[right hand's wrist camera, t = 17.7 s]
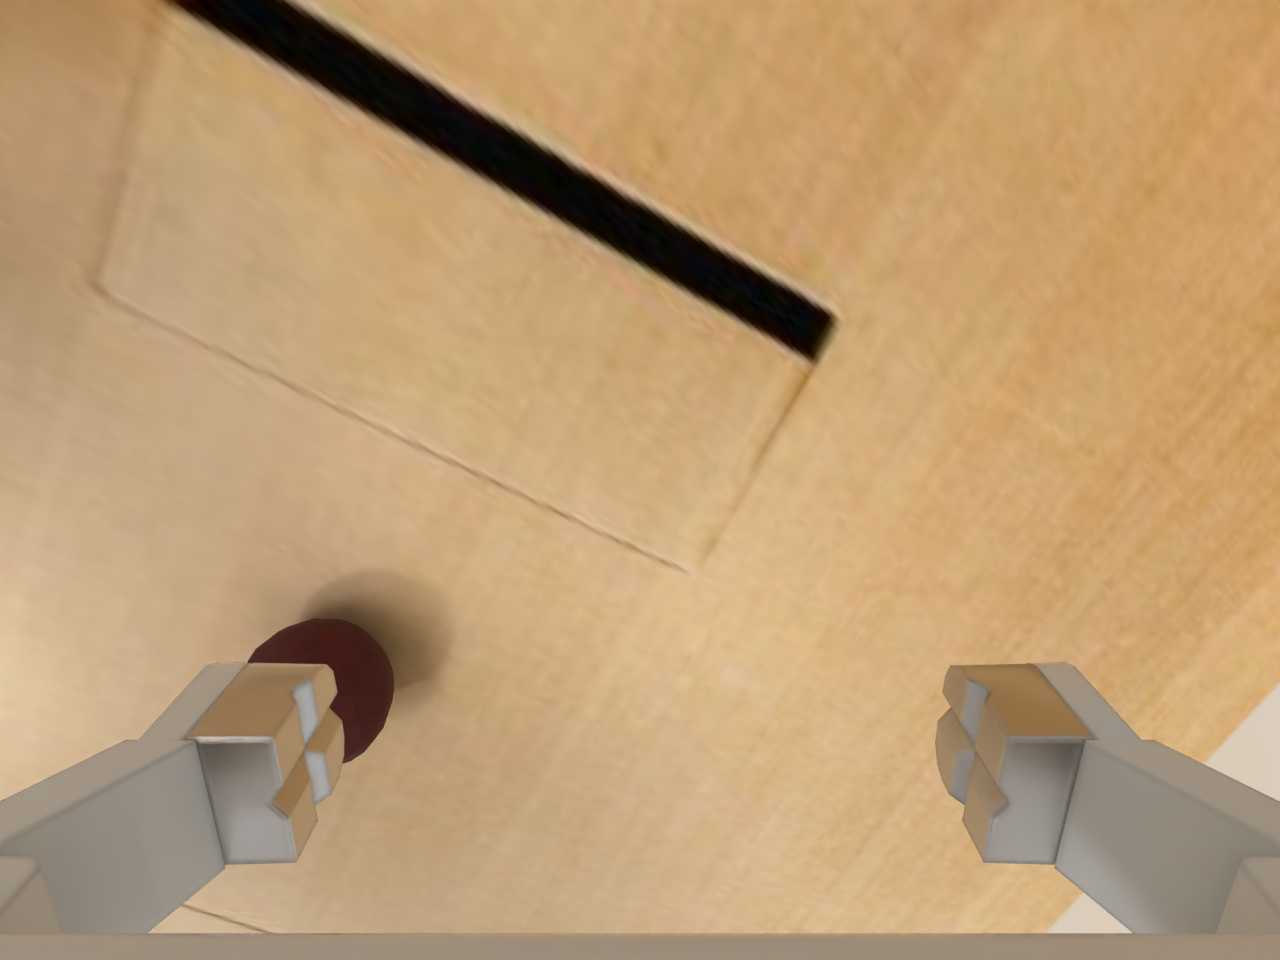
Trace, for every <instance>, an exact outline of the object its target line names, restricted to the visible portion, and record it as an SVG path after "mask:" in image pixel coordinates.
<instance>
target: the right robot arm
mask: <svg viewBox="0 0 1280 960" xmlns="http://www.w3.org/2000/svg"><path fill="white" fill-rule="evenodd" d="M336 694H337V687H336V682H335V677H334V672H333V670H332V669H331V668H330V667H329V666H328V665H327V664H288V663H252V664H251V663H248V662H244V663H213V664H210V665H206V666H205V667H204V668H203V669H202V670H201V671H200V673H199V674H198V675H197V676H196V677H195V678H194V679H193V680H192V681H191V682H190V684H189V685H188V686H187V687H186V688H185V689H184V690H183V691H182V692H181V694H180V695H179V696H178V697H177V698H176V699H175V700H174V701H173V702H172V703H171V705H170V706H169V707H168V708H167V709H166V710H165V711H164V712H163V713H162V714H161V716H160V717H159V718H158V719H157V720H156V721H155V722H154V723H153V724H152V726H151V727H150V728H149V729H148V730H147V731H146V732H145V733H144V734H143V735H142V737H141V738H140V739H139V740H125V741H123V742H121V743H119V744H117V745H115V746H113V747H111V748H109V749H107V750H105V751H102V752H100V753H98V754H96V755H94V756H92V757H90V758H88V759H86V760H84V761H82V762H80V763H78V764H76V765H74V766H72V767H70V768H68V769H66V770H64V771H61V772H59V773H57V774H55V775H53V776H51V777H49V778H47V779H45V780H43V781H41V782H39V783H37V784H35V785H33V786H31V787H29V788H27V789H25V790H23V791H21V792H18V793H16V794H14V795H12V796H10V797H8V798H6V799H4V800H2V801H0V960H1280V801H1278V800H1275V799H1273V798H1271V797H1269V796H1267V795H1265V794H1263V793H1261V792H1259V791H1257V790H1255V789H1253V788H1251V787H1249V786H1247V785H1245V784H1243V783H1241V782H1239V781H1237V780H1235V779H1233V778H1231V777H1228V776H1226V775H1224V774H1222V773H1220V772H1218V771H1216V770H1214V769H1212V768H1210V767H1208V766H1206V765H1204V764H1202V763H1200V762H1198V761H1196V760H1194V759H1192V758H1190V757H1188V756H1186V755H1184V754H1182V753H1180V752H1177V751H1175V750H1173V749H1171V748H1169V747H1167V746H1165V745H1163V744H1161V743H1159V742H1157V741H1155V740H1141V739H1140V738H1139V737H1138V735H1137V734H1136V733H1135V732H1134V731H1133V730H1132V729H1131V728H1130V727H1129V726H1128V724H1127V723H1126V722H1125V721H1124V720H1123V719H1122V718H1121V717H1120V716H1119V714H1118V713H1117V712H1116V711H1115V710H1114V709H1113V708H1112V707H1111V706H1110V705H1109V703H1108V702H1107V701H1106V700H1105V699H1104V698H1103V697H1102V696H1101V695H1100V694H1099V692H1098V691H1097V690H1096V689H1095V688H1094V687H1093V686H1092V685H1091V684H1090V682H1089V681H1088V680H1087V679H1086V678H1085V677H1084V676H1083V675H1082V674H1081V673H1080V671H1079V670H1078V669H1077V668H1076V667H1075V666H1073V665H1071V664H1068V663H1066V662H1052V663H1027V664H999V665H950V667H949V669H948V671H947V673H946V675H945V681H944V686H943V694H944V696H945V698H946V699H947V701H948V703H949V704H950V706H951V708H950V709H949V710H948V711H947V712H946V713H945V714H944V715H943V716H942V717H941V718H940V719H939V720H938V724H937V732H936V741H935V745H936V756H937V765H938V768H939V772H940V775H941V778H942V781H943V783H944V785H945V787H946V789H947V791H948V793H949V795H951V796H952V797H954V798H955V799H957V800H958V801H959V802H961V803H962V804H964V805H965V807H964V813H963V819H962V821H963V823H964V825H965V827H966V829H967V831H968V833H969V835H970V837H971V839H972V841H973V843H974V845H975V846H976V848H977V850H978V852H979V854H980V856H981V858H982V860H983V862H984V863H1016V864H1052V865H1055V869H1056V870H1058V871H1059V872H1060V873H1061V874H1063V875H1064V876H1065V877H1066V878H1067V879H1069V880H1070V881H1071V882H1072V883H1073V884H1075V885H1076V886H1077V887H1078V888H1079V889H1081V890H1082V891H1083V892H1084V893H1085V894H1087V895H1088V896H1089V897H1090V898H1091V899H1093V900H1094V901H1095V902H1096V903H1097V904H1099V905H1100V906H1101V907H1102V908H1104V909H1105V910H1106V911H1107V912H1108V913H1110V914H1111V915H1112V916H1113V917H1114V918H1116V919H1117V920H1118V921H1119V922H1120V923H1122V924H1123V925H1124V926H1125V927H1126V928H1128V929H1129V930H1130V931H1131V932H1132V933H1096V934H1095V933H1089V934H1088V933H1087V934H1086V933H1080V934H1079V933H1071V934H1070V933H1067V934H1066V933H1061V934H1060V933H1058V934H1057V933H1056V934H1055V933H1051V934H1050V933H1006V934H561V933H322V934H160V933H148V932H149V931H150V930H151V929H153V928H154V927H155V926H156V925H157V924H159V923H160V922H161V921H162V920H163V919H165V918H166V917H167V916H168V915H170V914H171V913H172V912H173V911H174V910H176V909H177V908H178V907H179V906H180V905H182V904H183V903H184V902H185V901H186V900H188V899H189V898H190V897H191V896H192V895H194V894H195V893H196V892H197V891H199V890H200V889H201V888H202V887H203V886H205V885H206V884H207V883H208V882H209V881H211V880H212V879H213V878H214V877H215V876H217V875H218V874H219V873H220V872H221V871H223V870H224V869H225V865H228V864H263V863H296V862H297V860H298V858H299V856H300V854H301V852H302V850H303V849H304V847H305V845H306V843H307V841H308V839H309V837H310V835H311V833H312V831H313V829H314V827H315V825H316V823H317V821H318V819H317V813H316V807H315V805H316V804H318V803H319V802H321V801H322V800H323V799H325V798H326V797H328V796H329V795H331V793H332V791H333V789H334V787H335V785H336V783H337V781H338V779H339V776H340V771H341V767H342V762H343V758H344V731H343V724H342V720H341V719H340V718H339V717H338V716H337V715H336V714H335V713H334V712H333V711H332V710H331V709H330V708H329V706H330V704H331V703H332V701H333V699H334V698H335V696H336Z"/></svg>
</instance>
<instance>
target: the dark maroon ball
mask: <svg viewBox="0 0 1280 960" xmlns="http://www.w3.org/2000/svg"><path fill="white" fill-rule="evenodd" d="M248 663H251V664H252V663H288V664H327V665H328V666H329V667H330V668H331V669H332V670H333V672H334V677H335V682H336V687H337V694H336V696H335V698H334V699H333V701H332V703H331V704H330V706H329V708H330V709H331V710H332V711H333V712H334V713H335V714H336V715H337V716H338V717H339V718H340V719H341V720H342V724H343V731H344V758H343V762H342V764H343V763H346V762H349V761H351V760H353V759H354V758H356V757H357V756H359V755H360V754H362V753H364V752H365V750H366V749H367V748H368V747H369V746H370V744H371V743H372V742H373V741H374V739H375V738H376V737H377V735H378V734H379V733H380V731H381V730H382V729H383V727H384V724H385V721H386V718H387V715H388V712H389V709H390V706H391V703H392V699H393V692H394V680H393V671H392V668H391V665H390V662H389V660H388V657H387V655H386V654H385V652H384V651H383V650H382V648H381V647H380V645H379V644H378V643H377V642H376V641H375V640H374V639H373V638H372V637H371V636H370V635H369V634H368V633H366V632H365V631H364V630H362V629H361V628H359V627H358V626H357V625H354V624H351V623H349V622H346V621H343V620H330V619H311V620H308V621H305V622H302V623H299V624H295V625H292V626H289V627H287V628H285V629H283V630H281V631H279V632H277V633H276V634H275V635H274V636H272V637H271V638H270V639H268V640H267V641H266V642H264V643H263V644H262V645H260V646H259V647H258V648H257V649H256V650H255V651H254V653H253V654H252V656H251V657H250V659H249V660H248Z"/></svg>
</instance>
